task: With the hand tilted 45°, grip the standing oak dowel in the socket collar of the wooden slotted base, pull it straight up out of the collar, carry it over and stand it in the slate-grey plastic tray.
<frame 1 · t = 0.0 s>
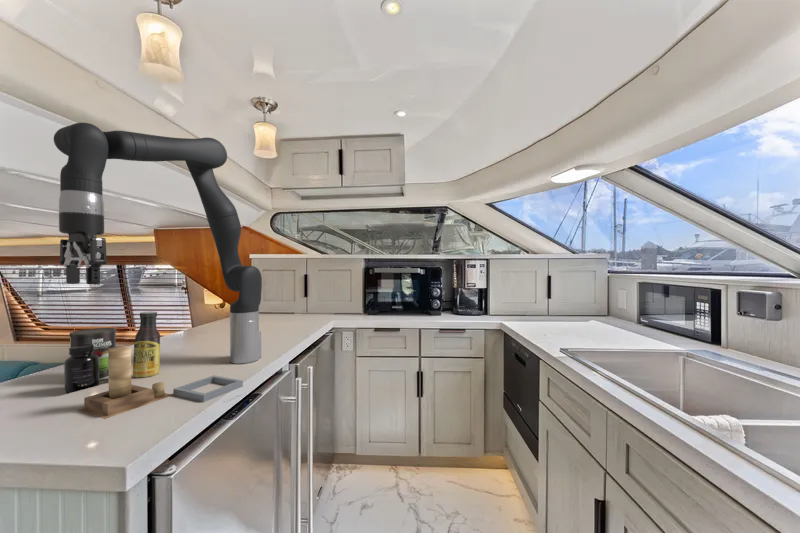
hand: (82, 284, 77), 29 cm above the countertop, tool pointing down, fingers open, 8 cm apart
wooden slotted base: (127, 408, 79), on the countertop
tray: (209, 396, 86), on the countertop
coffee can: (94, 378, 101), on the countertop
sauce bottle: (147, 380, 99), on the countertop
supplement bottle: (82, 391, 90), on the countertop
dowel: (120, 404, 77), point 1 cm above the countertop, touching wooden slotted base
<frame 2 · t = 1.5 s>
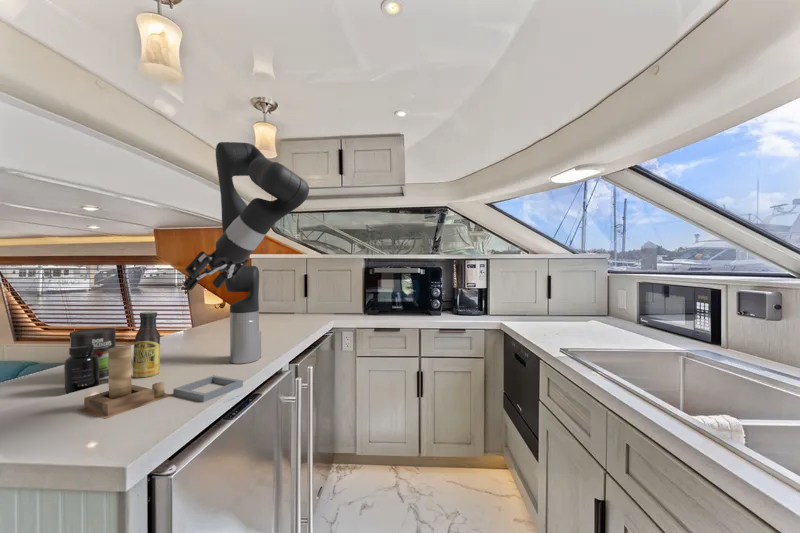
hand: (201, 286, 82), 28 cm above the countertop, tool tilted 45°, fingers open, 8 cm apart
nothing on the countertop moved.
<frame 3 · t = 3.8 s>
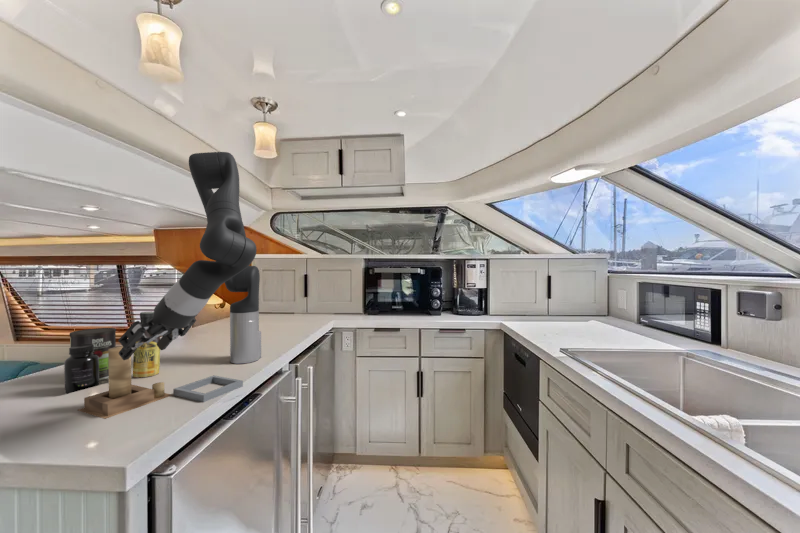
hand: (142, 351, 76), 14 cm above the countertop, tool tilted 45°, fingers open, 8 cm apart
nothing on the countertop moved.
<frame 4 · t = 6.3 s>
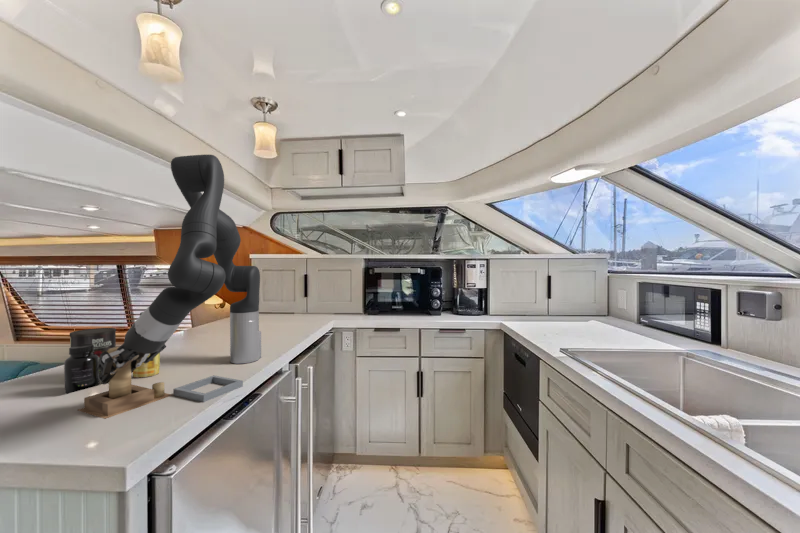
hand: (113, 377, 78), 8 cm above the countertop, tool tilted 45°, fingers closed on dowel, 4 cm apart
dowel: (120, 404, 77), point 2 cm above the countertop, touching gripper, wooden slotted base
everything else where it was.
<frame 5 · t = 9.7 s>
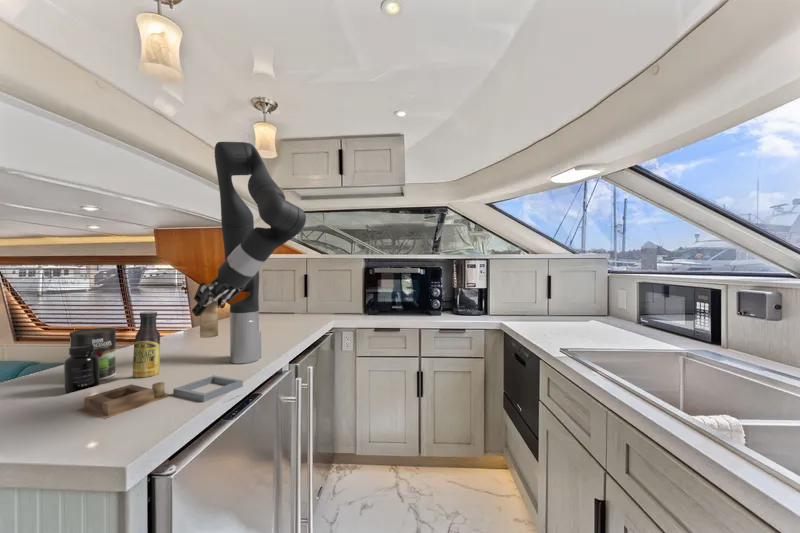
hand: (202, 312, 86), 21 cm above the countertop, tool tilted 45°, fingers closed on dowel, 4 cm apart
dowel: (209, 336, 86), point 15 cm above the countertop, touching gripper
everything else where it was.
when the fingers open (8 cm above the countertop, at t = 13.1 s): dowel drops 1 cm, resting on tray.
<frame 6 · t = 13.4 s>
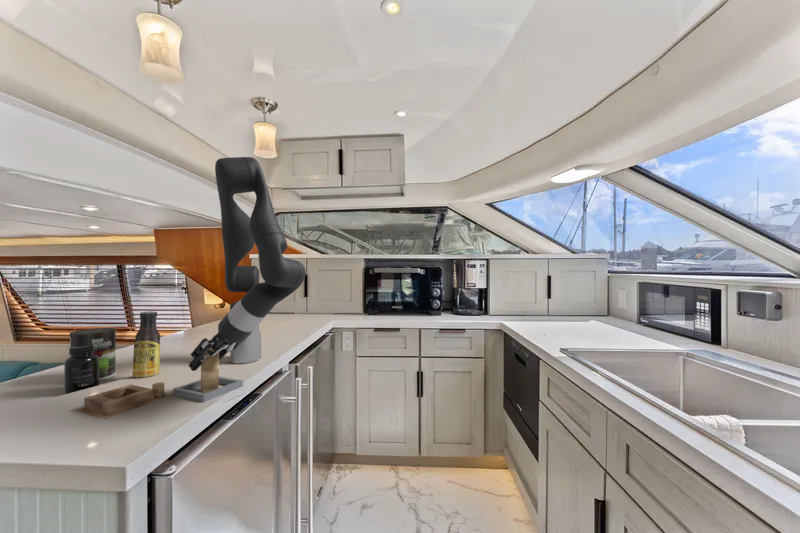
hand: (203, 363, 86), 8 cm above the countertop, tool tilted 45°, fingers open, 7 cm apart
dowel: (209, 393, 86), point 1 cm above the countertop, touching tray
everything else where it was.
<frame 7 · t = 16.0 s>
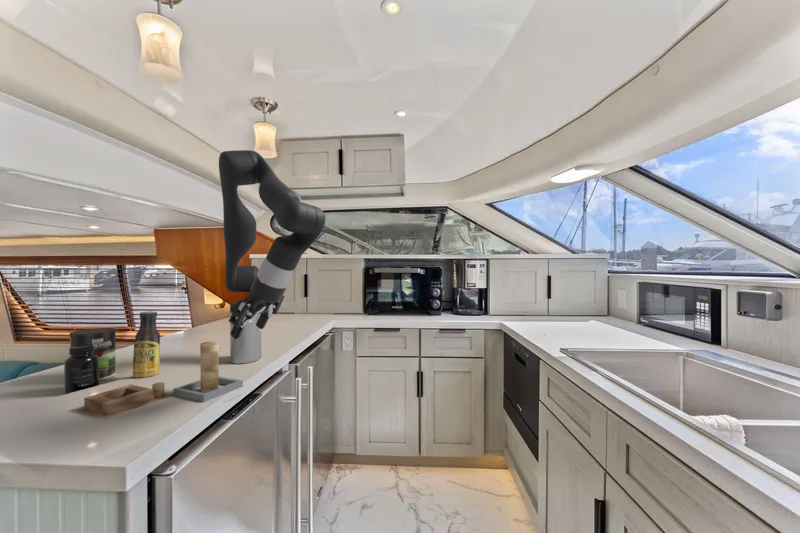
hand: (247, 331, 84), 17 cm above the countertop, tool tilted 35°, fingers open, 8 cm apart
nothing on the countertop moved.
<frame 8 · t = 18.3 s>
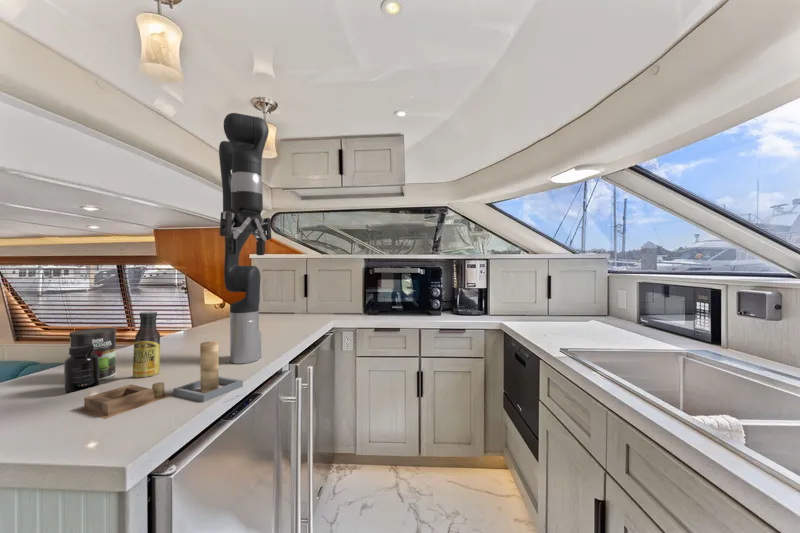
hand: (247, 254, 88), 36 cm above the countertop, tool pointing down, fingers open, 8 cm apart
nothing on the countertop moved.
at the end: dowel inside the target area on the tray (0.1 cm from its centre), point 0.6 cm above the tray's base; dowel tilted 0°; the gripper is holding nothing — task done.
